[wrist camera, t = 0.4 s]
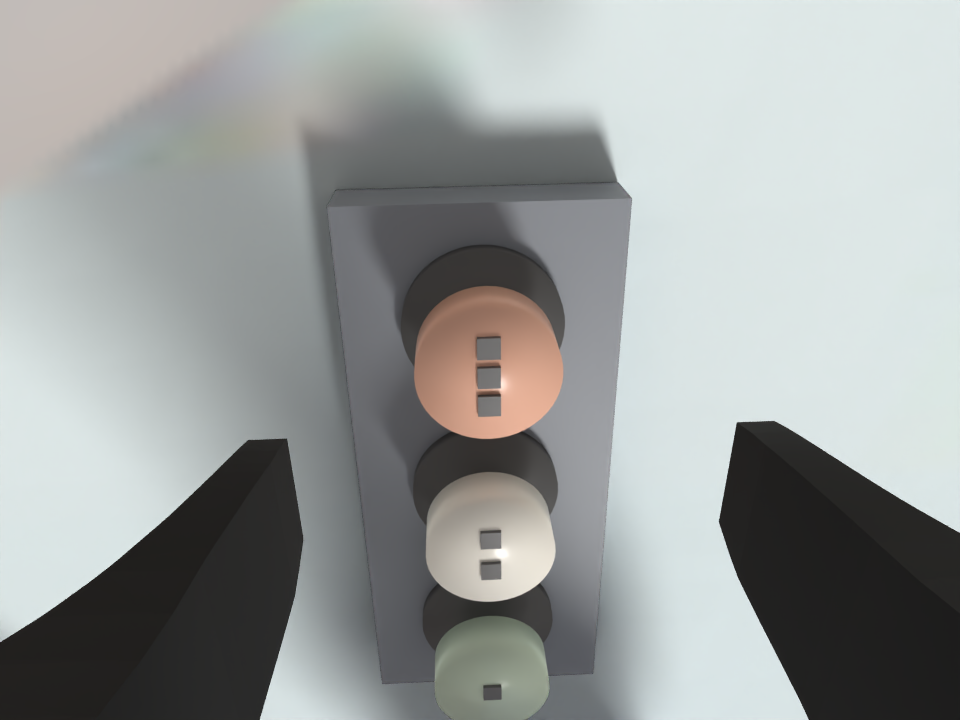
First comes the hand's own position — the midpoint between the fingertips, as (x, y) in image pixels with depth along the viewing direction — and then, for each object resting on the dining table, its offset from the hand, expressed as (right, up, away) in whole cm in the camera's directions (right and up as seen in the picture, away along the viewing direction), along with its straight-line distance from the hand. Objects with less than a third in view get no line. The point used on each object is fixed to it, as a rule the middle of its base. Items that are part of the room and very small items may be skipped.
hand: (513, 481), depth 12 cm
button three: (0, +2, +5) cm, 5 cm away
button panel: (0, -1, +10) cm, 10 cm away
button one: (0, -7, +10) cm, 12 cm away
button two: (0, -2, +7) cm, 8 cm away
